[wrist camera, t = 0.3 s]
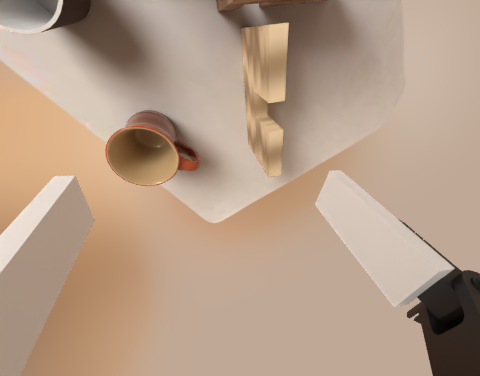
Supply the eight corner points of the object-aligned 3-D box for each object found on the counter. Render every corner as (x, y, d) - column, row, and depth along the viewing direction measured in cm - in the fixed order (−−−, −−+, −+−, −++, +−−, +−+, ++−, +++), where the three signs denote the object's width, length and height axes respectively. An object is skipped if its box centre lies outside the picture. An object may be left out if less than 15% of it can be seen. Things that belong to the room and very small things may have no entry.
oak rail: (240, 27, 28) (269, 24, 19) (254, 26, 28) (288, 22, 19) (248, 143, 39) (268, 177, 30) (258, 142, 40) (281, 174, 30)
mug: (121, 145, 34) (103, 178, 26) (127, 94, 30) (107, 115, 22) (190, 162, 39) (192, 195, 31) (204, 120, 35) (210, 146, 27)
